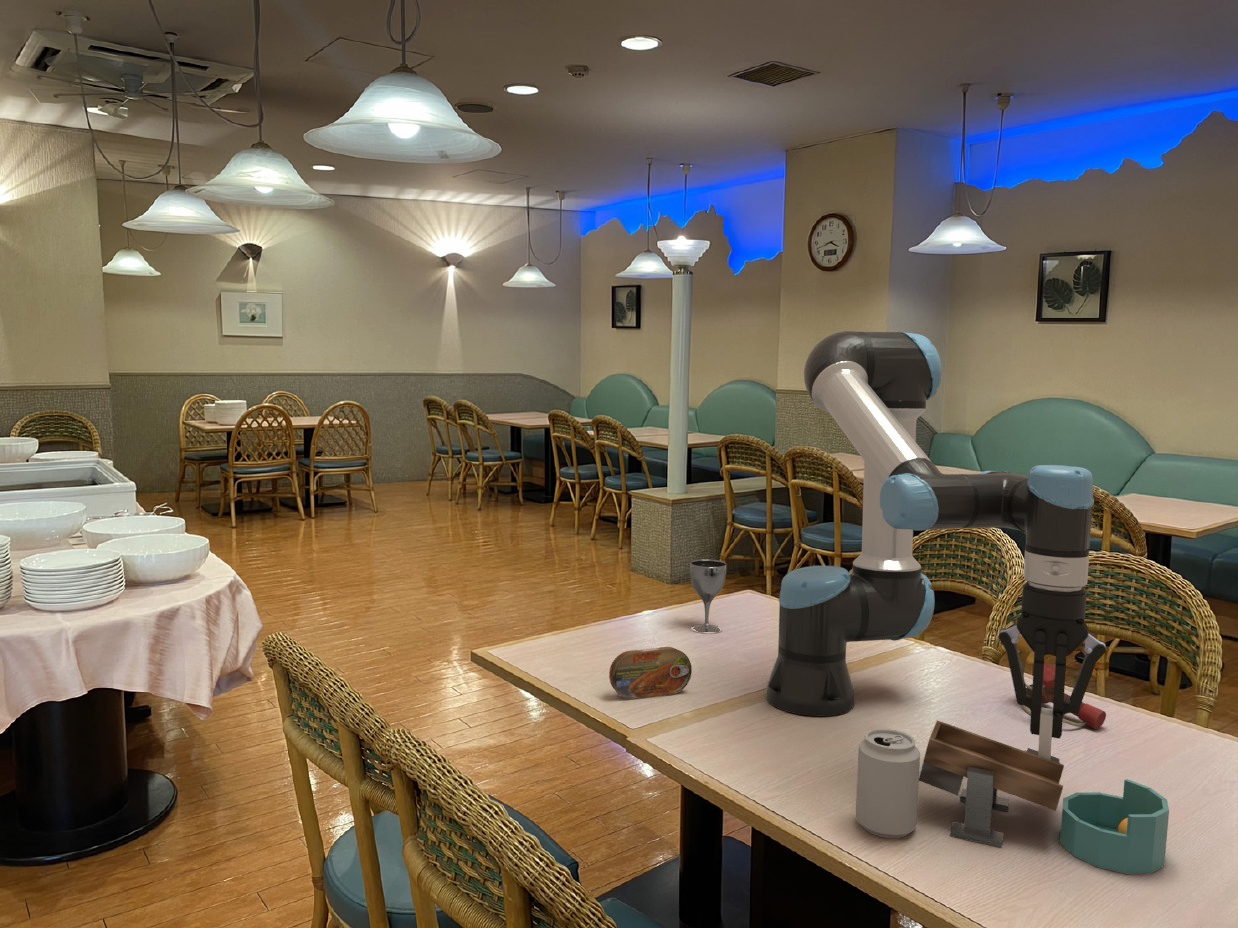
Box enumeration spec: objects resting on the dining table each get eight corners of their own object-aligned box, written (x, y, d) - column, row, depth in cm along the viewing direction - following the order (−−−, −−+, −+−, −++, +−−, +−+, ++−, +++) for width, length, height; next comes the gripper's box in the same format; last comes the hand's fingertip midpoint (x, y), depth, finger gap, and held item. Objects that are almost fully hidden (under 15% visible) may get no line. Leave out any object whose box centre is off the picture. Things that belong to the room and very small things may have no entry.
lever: (917, 782, 119) (929, 739, 117) (932, 745, 130) (943, 705, 129) (1049, 833, 112) (1062, 787, 111) (1052, 789, 124) (1064, 747, 123)
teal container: (1059, 858, 110) (1063, 802, 109) (1061, 817, 120) (1064, 766, 119) (1167, 883, 105) (1172, 825, 104) (1159, 838, 115) (1164, 785, 114)
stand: (950, 835, 115) (954, 771, 114) (962, 794, 126) (965, 735, 125) (1001, 847, 112) (1005, 781, 111) (1008, 804, 123) (1012, 743, 122)
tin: (612, 702, 158) (613, 655, 157) (606, 696, 161) (607, 649, 160) (692, 693, 163) (693, 647, 162) (685, 687, 166) (686, 642, 165)
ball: (1136, 864, 109) (1110, 836, 110) (1134, 848, 113) (1109, 822, 114) (1164, 846, 108) (1137, 819, 109) (1162, 831, 111) (1136, 805, 112)
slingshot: (1075, 698, 164) (1127, 703, 149) (1042, 742, 162) (1091, 752, 147) (1004, 634, 165) (1048, 633, 150) (970, 677, 163) (1012, 680, 148)
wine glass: (687, 633, 200) (688, 565, 198) (690, 623, 208) (691, 558, 206) (723, 635, 199) (725, 567, 197) (725, 625, 206) (727, 560, 205)
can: (847, 812, 120) (851, 725, 119) (902, 811, 121) (906, 724, 120) (867, 842, 113) (871, 749, 111) (925, 840, 113) (931, 748, 112)
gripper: (998, 584, 118) (989, 759, 120) (1112, 596, 112) (1100, 780, 115) (1002, 573, 125) (993, 739, 127) (1110, 584, 119) (1099, 758, 121)
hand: (1044, 758), depth 121 cm, fingers closed
